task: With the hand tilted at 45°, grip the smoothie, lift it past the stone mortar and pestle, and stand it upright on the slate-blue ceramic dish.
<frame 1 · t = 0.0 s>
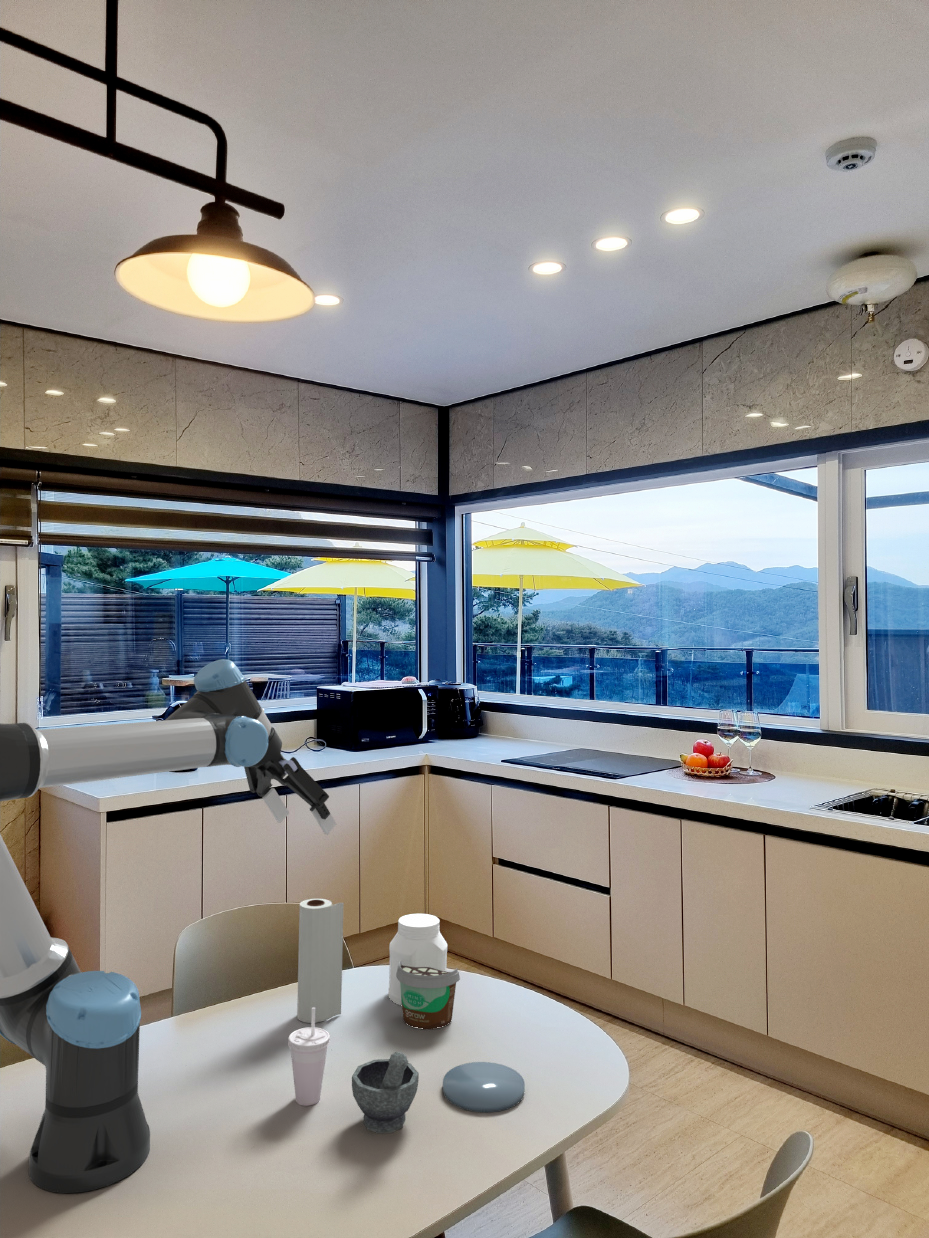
hand: (306, 823, 164), 36 cm above the table, tool tilted 35°, fingers open, 13 cm apart
paper towel roll: (315, 1018, 163), on the table
mortar and pestle: (386, 1124, 129), on the table
food container: (422, 1025, 161), on the table
jar: (417, 996, 174), on the table
dish: (483, 1089, 139), on the table
smoothie: (307, 1100, 135), on the table
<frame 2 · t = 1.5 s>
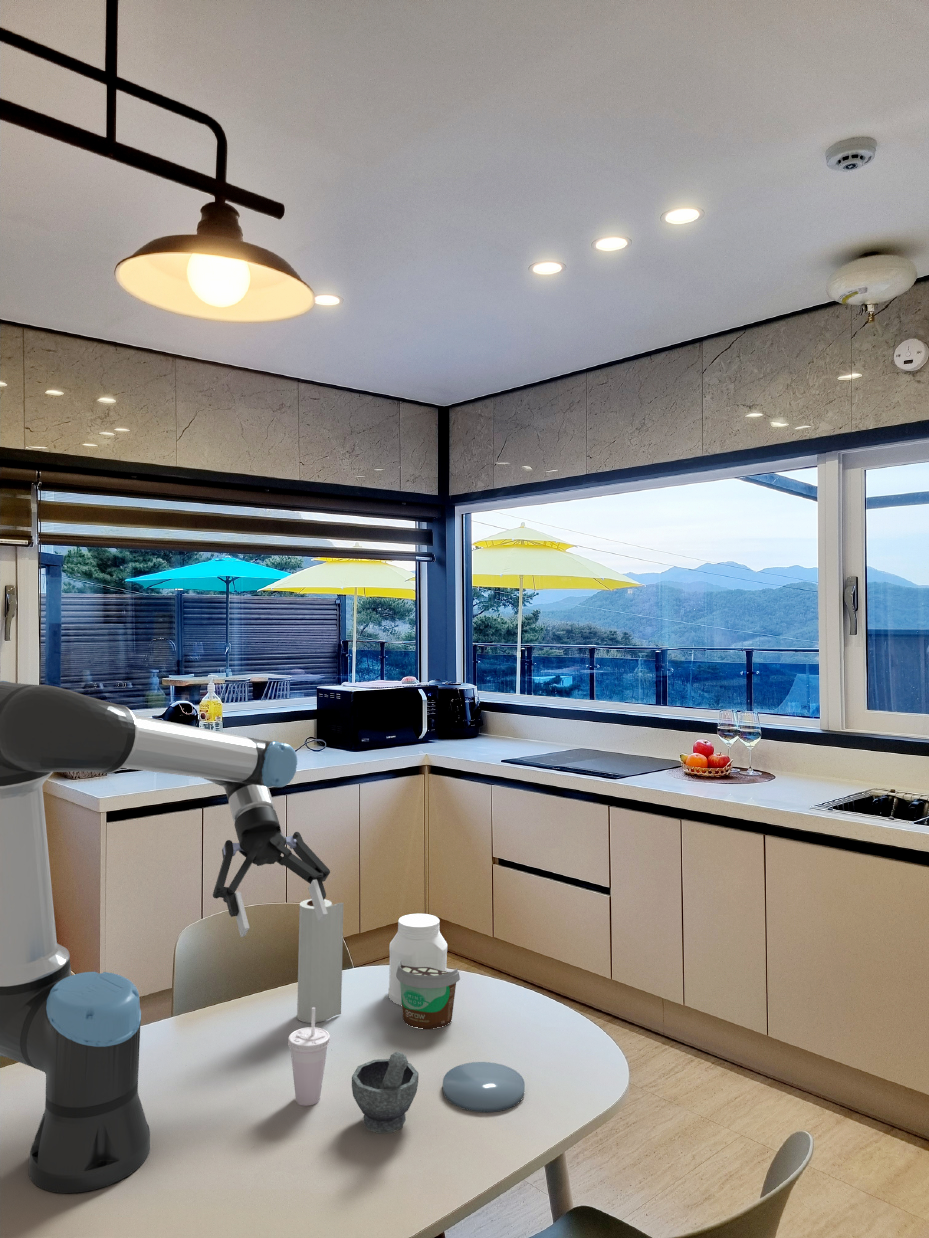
hand: (285, 925, 144), 24 cm above the table, tool tilted 45°, fingers open, 13 cm apart
nothing on the table moved.
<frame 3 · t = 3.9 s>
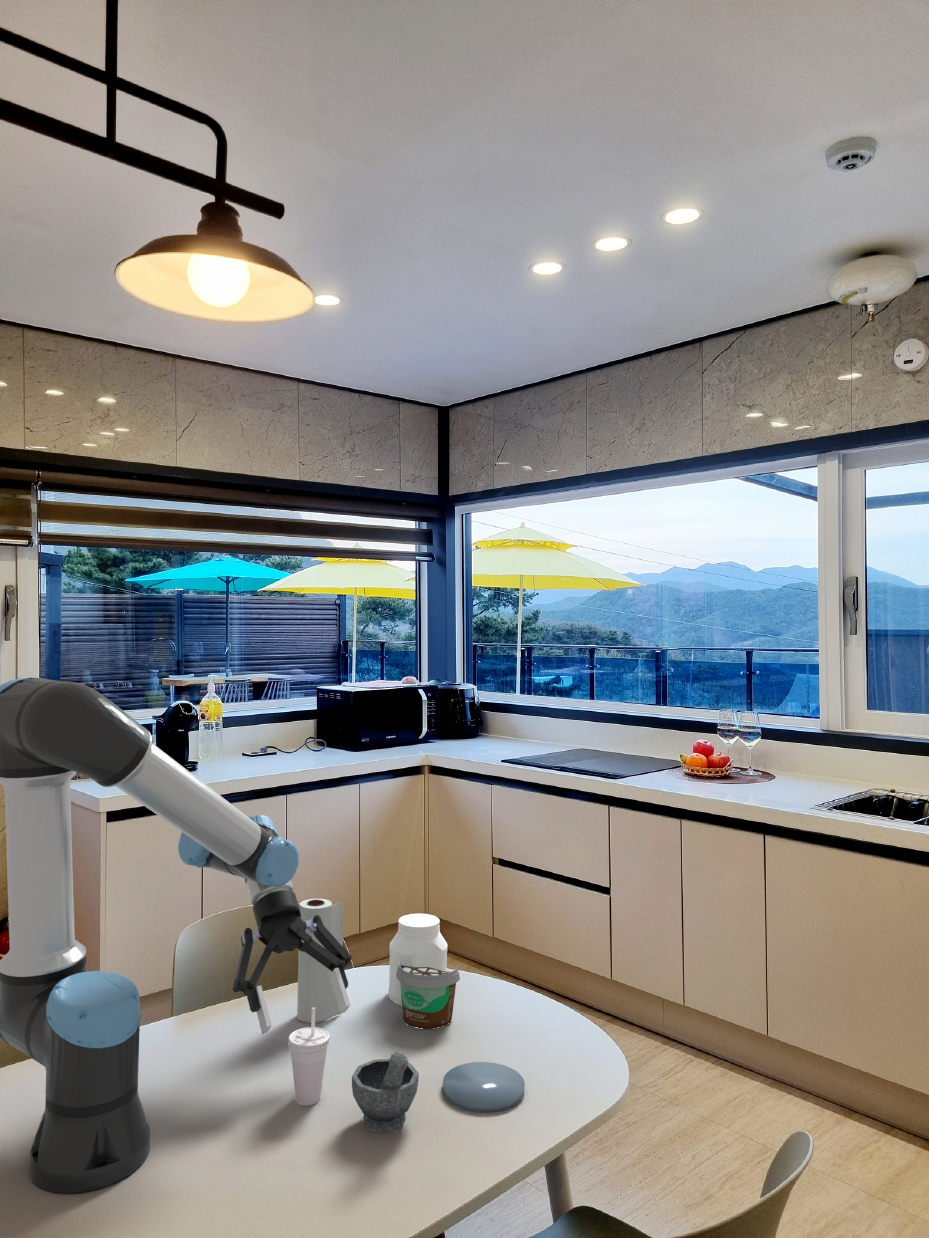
hand: (307, 1019, 140), 10 cm above the table, tool tilted 45°, fingers open, 13 cm apart
nothing on the table moved.
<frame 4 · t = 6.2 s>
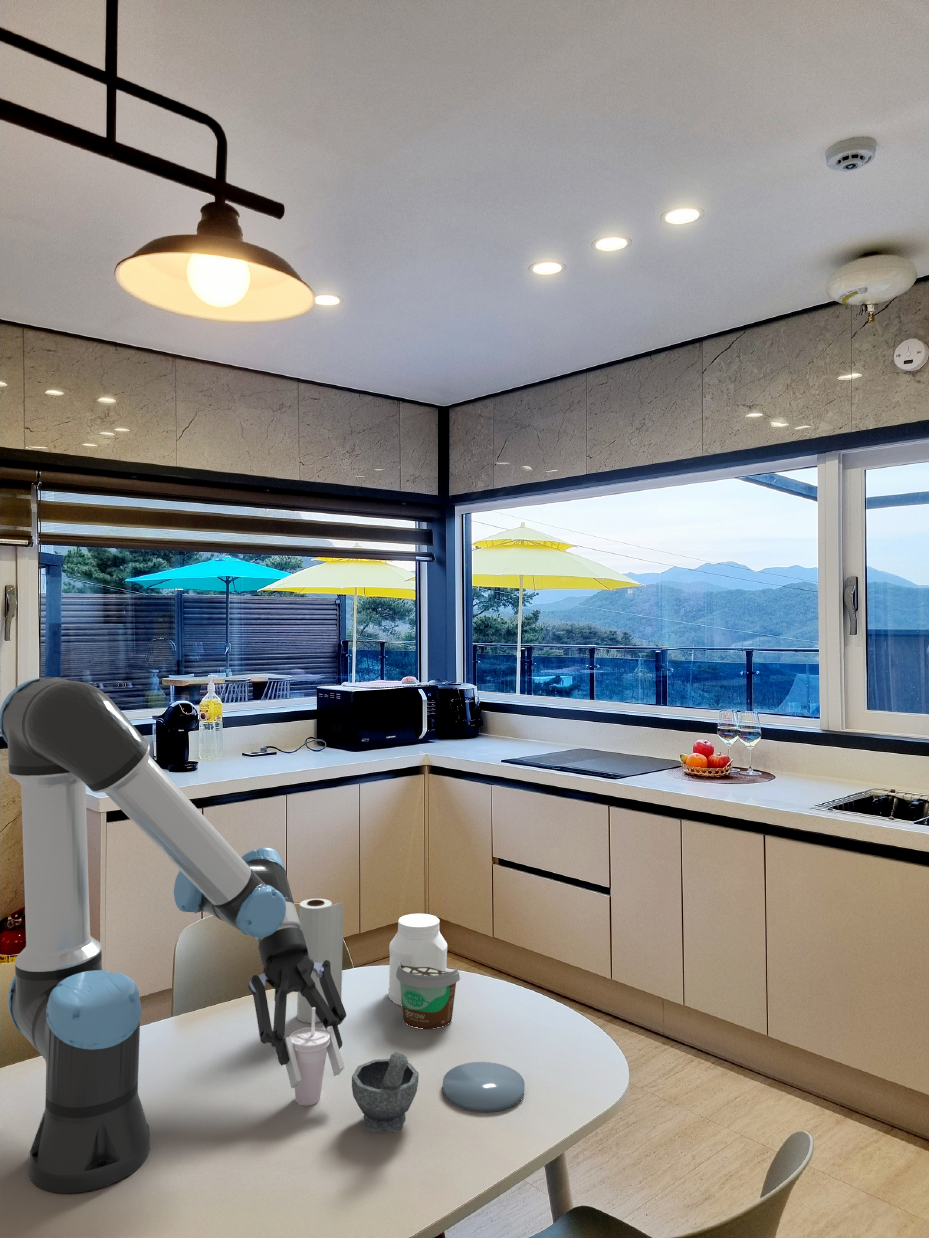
hand: (318, 1077, 132), 5 cm above the table, tool tilted 45°, fingers closed on smoothie, 6 cm apart
smoothie: (307, 1100, 135), on the table, touching gripper
everything else where it was.
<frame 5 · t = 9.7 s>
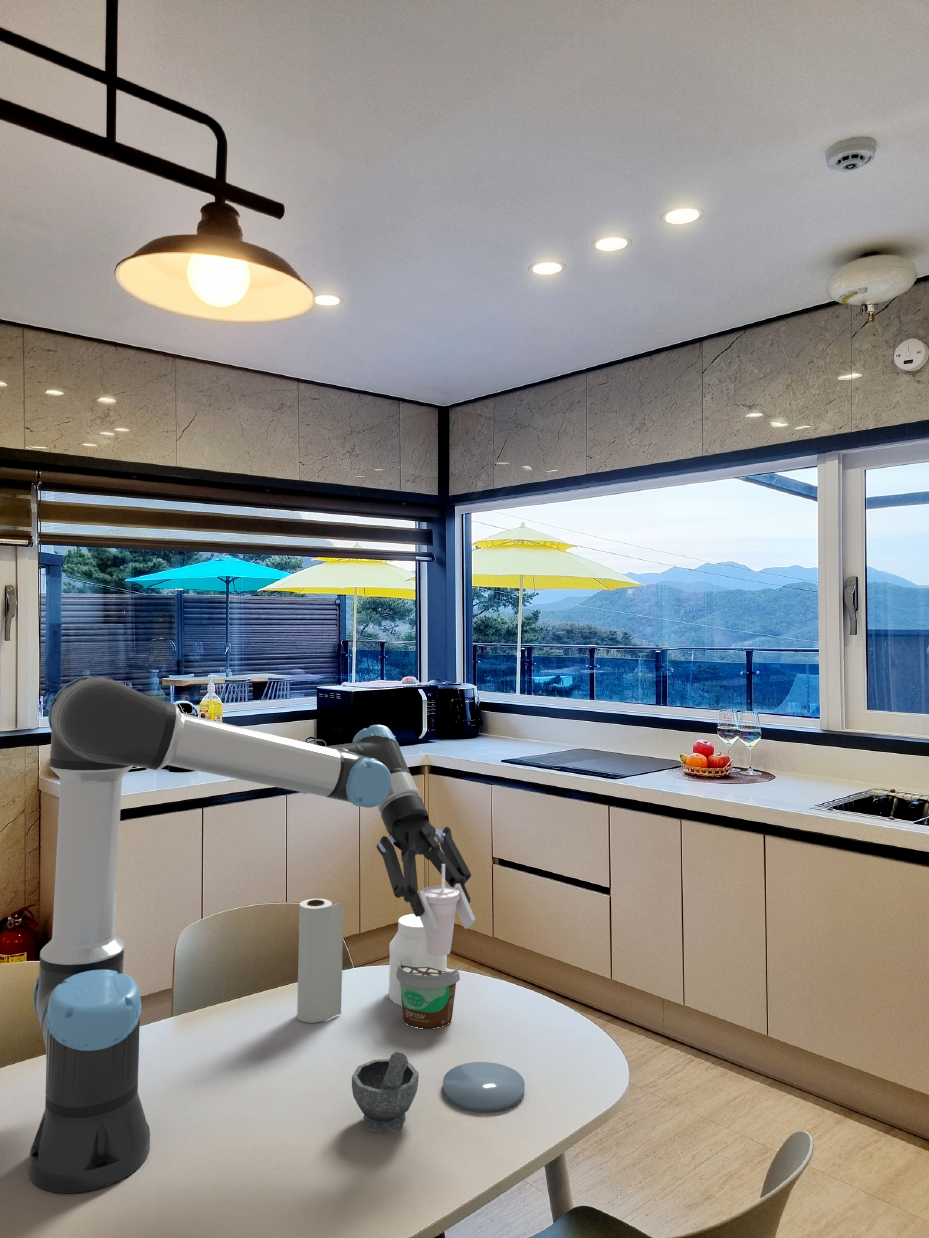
hand: (452, 928, 137), 26 cm above the table, tool tilted 45°, fingers closed on smoothie, 6 cm apart
smoothie: (438, 952, 140), point 21 cm above the table, touching gripper
everything else where it was.
when the fingers open (7 cm above the table, at t = 13.1 s): smoothie drops 1 cm, resting on dish.
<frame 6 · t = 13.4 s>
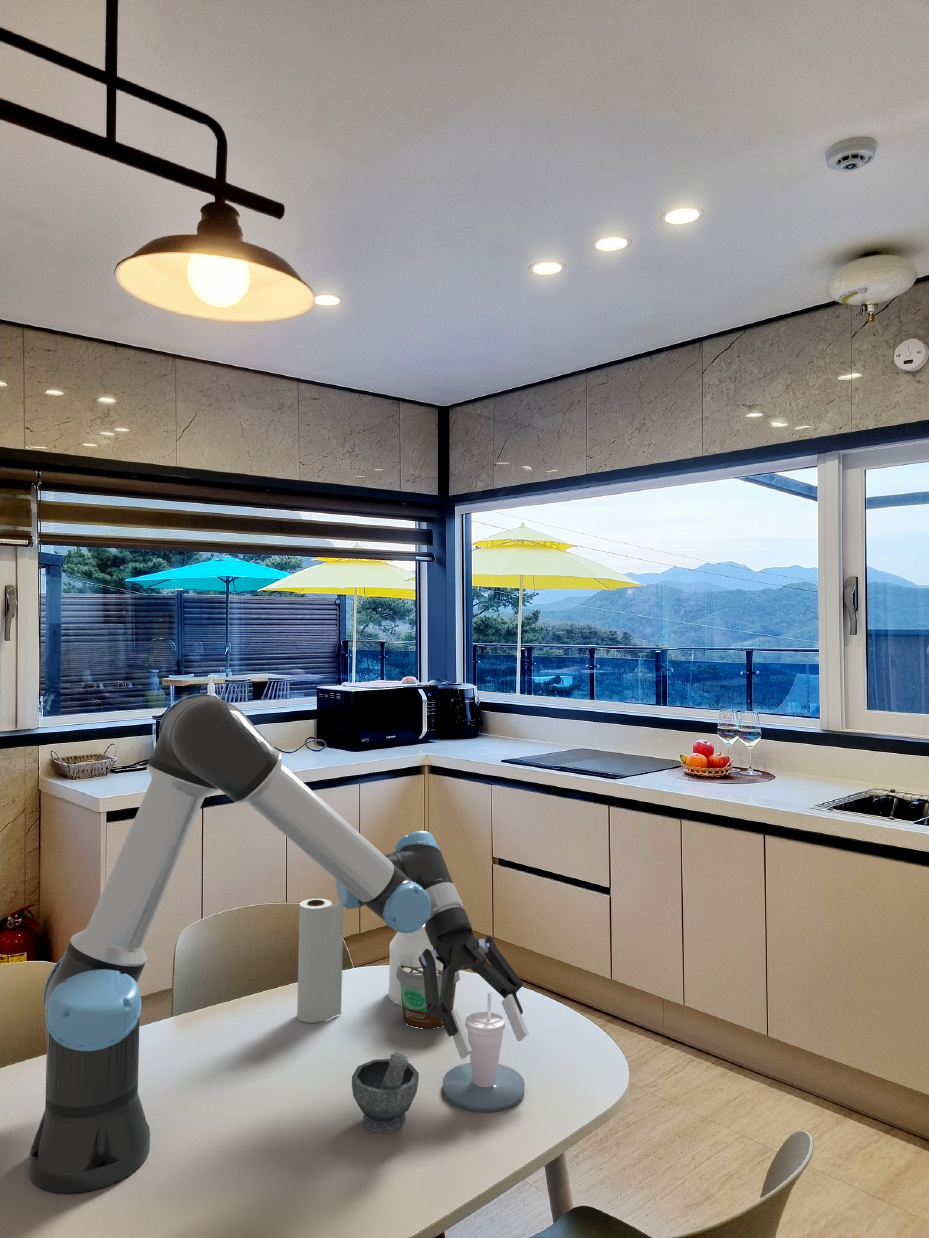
hand: (495, 1045, 136), 8 cm above the table, tool tilted 45°, fingers open, 10 cm apart
smoothie: (483, 1082, 139), point 1 cm above the table, touching dish
everything else where it was.
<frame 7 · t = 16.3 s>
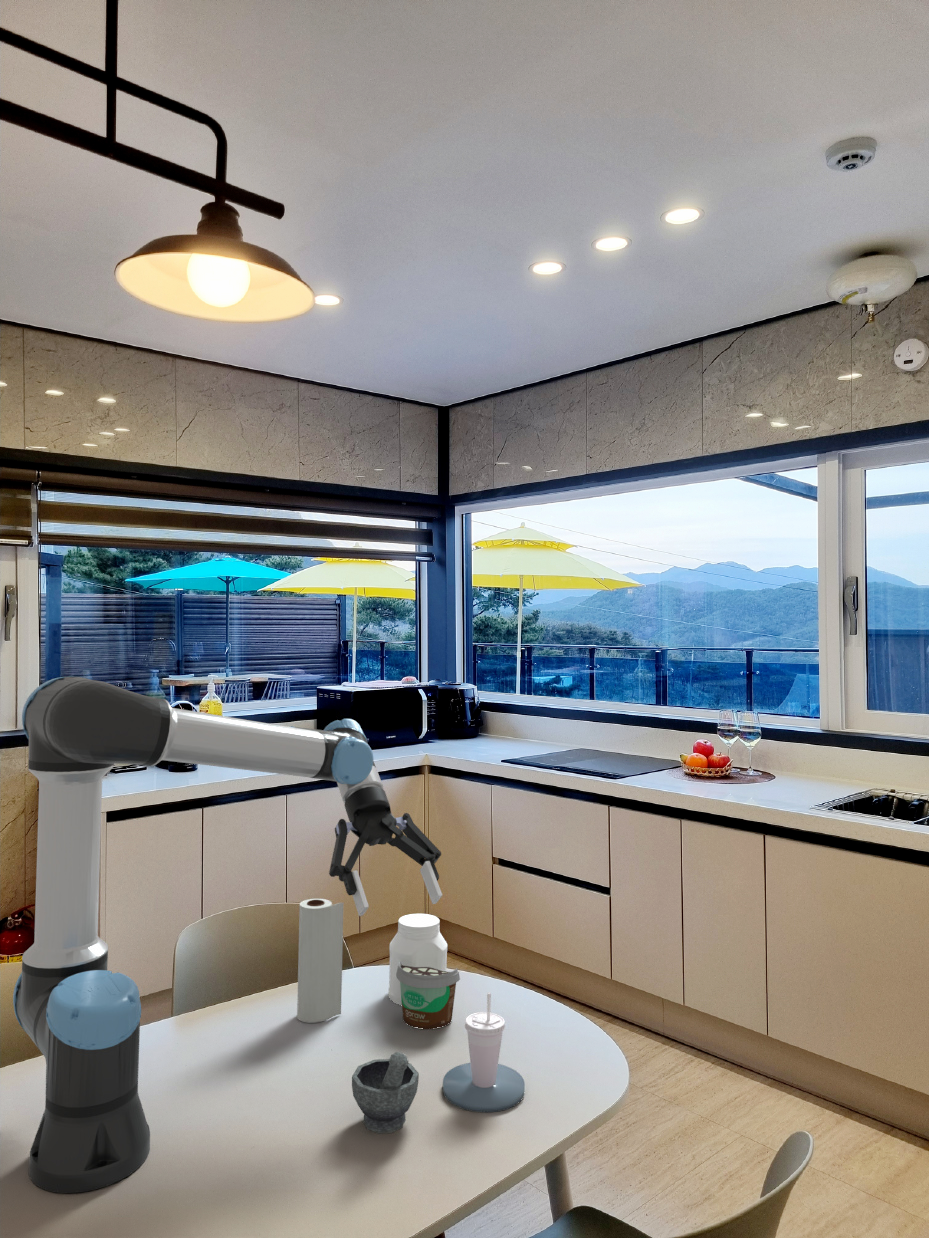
hand: (401, 905, 142), 28 cm above the table, tool tilted 45°, fingers open, 13 cm apart
nothing on the table moved.
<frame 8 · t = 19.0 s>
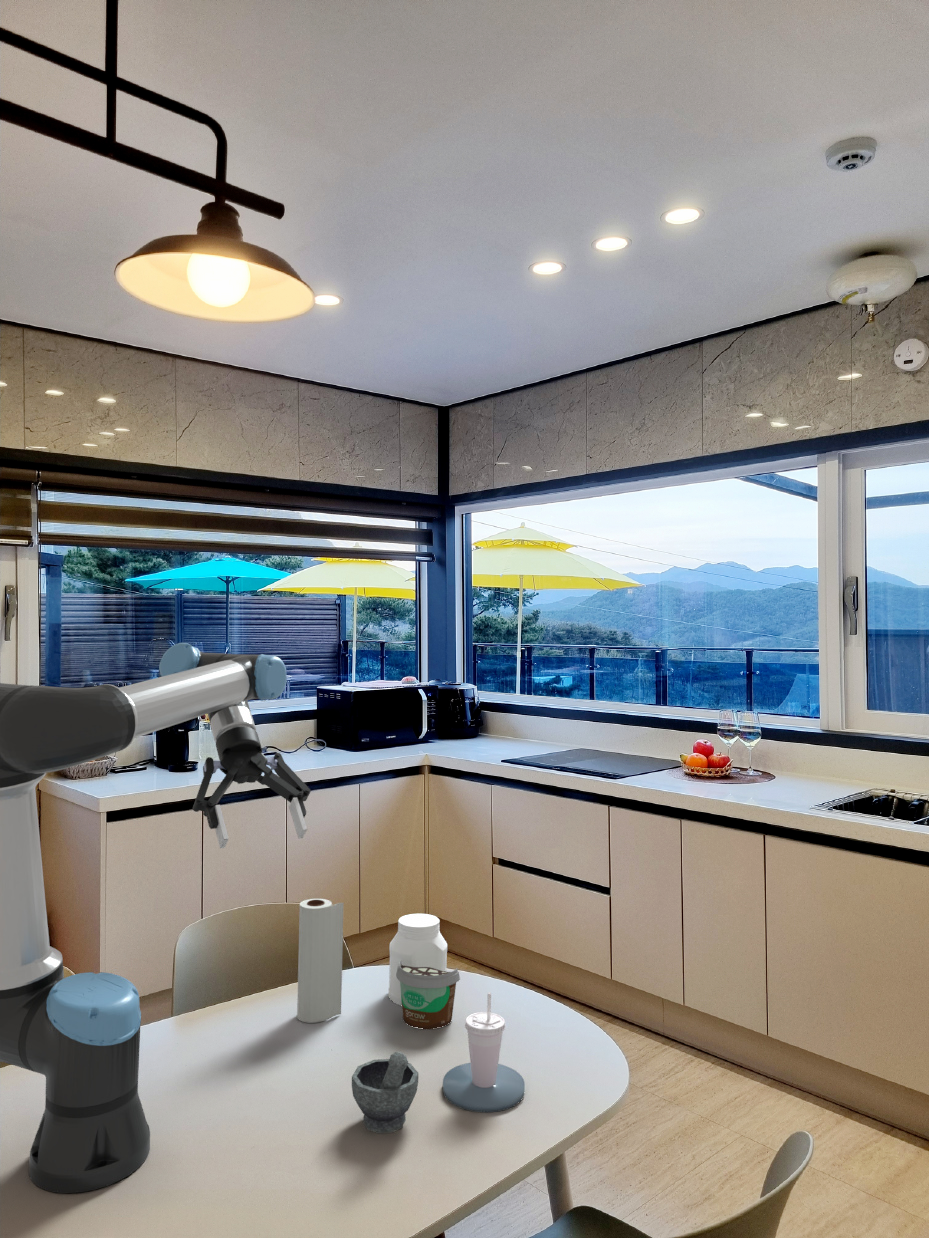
hand: (264, 838, 145), 38 cm above the table, tool tilted 45°, fingers open, 13 cm apart
nothing on the table moved.
at the end: smoothie inside the target area on the dish (0.2 cm from its centre), point 1.0 cm above the dish's base; smoothie tilted 0°; the gripper is holding nothing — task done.
